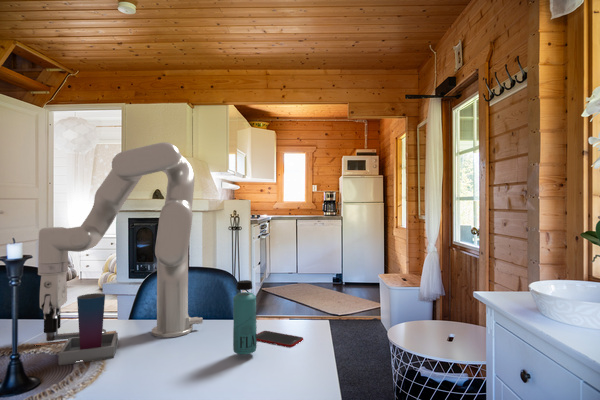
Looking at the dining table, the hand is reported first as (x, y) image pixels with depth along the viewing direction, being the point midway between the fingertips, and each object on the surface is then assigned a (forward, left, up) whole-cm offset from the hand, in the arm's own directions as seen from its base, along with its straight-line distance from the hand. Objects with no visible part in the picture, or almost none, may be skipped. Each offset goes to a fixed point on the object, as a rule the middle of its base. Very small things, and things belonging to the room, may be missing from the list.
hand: (52, 329), depth 113 cm
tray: (-12, +14, -4) cm, 19 cm away
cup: (-12, +14, -3) cm, 19 cm away
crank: (-6, +1, -3) cm, 7 cm away
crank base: (-6, +1, -4) cm, 7 cm away
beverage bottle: (-51, +32, -4) cm, 60 cm away
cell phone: (-63, +23, -4) cm, 67 cm away
